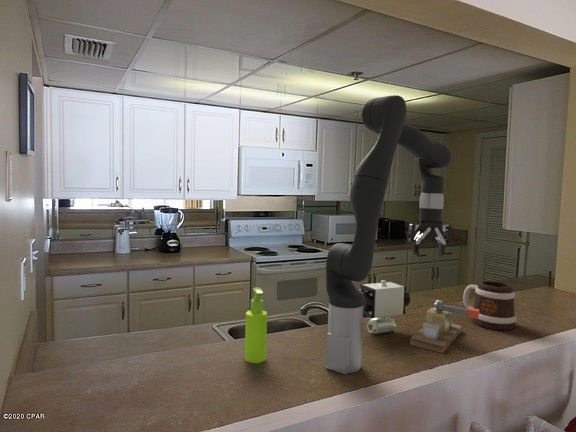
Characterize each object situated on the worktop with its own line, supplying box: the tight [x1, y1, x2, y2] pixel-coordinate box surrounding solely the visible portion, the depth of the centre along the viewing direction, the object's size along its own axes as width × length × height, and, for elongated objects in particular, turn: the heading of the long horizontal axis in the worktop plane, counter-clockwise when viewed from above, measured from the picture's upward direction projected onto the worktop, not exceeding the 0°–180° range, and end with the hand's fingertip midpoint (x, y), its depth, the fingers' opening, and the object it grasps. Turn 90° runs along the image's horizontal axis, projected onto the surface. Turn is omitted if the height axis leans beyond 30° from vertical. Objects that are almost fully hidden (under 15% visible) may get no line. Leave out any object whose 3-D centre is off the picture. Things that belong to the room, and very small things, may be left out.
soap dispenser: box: [244, 287, 268, 364], centre depth 111 cm, size 6×7×20 cm
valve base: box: [409, 323, 463, 354], centre depth 133 cm, size 24×10×2 cm, turn 144°
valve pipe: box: [422, 307, 453, 341], centre depth 133 cm, size 18×6×7 cm, turn 144°
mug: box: [462, 280, 517, 331], centre depth 150 cm, size 20×15×15 cm
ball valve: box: [358, 279, 411, 335], centre depth 137 cm, size 18×8×18 cm, turn 115°
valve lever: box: [433, 299, 479, 319], centre depth 129 cm, size 13×3×3 cm, turn 54°
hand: (428, 255), depth 135 cm, fingers open, 8 cm apart
